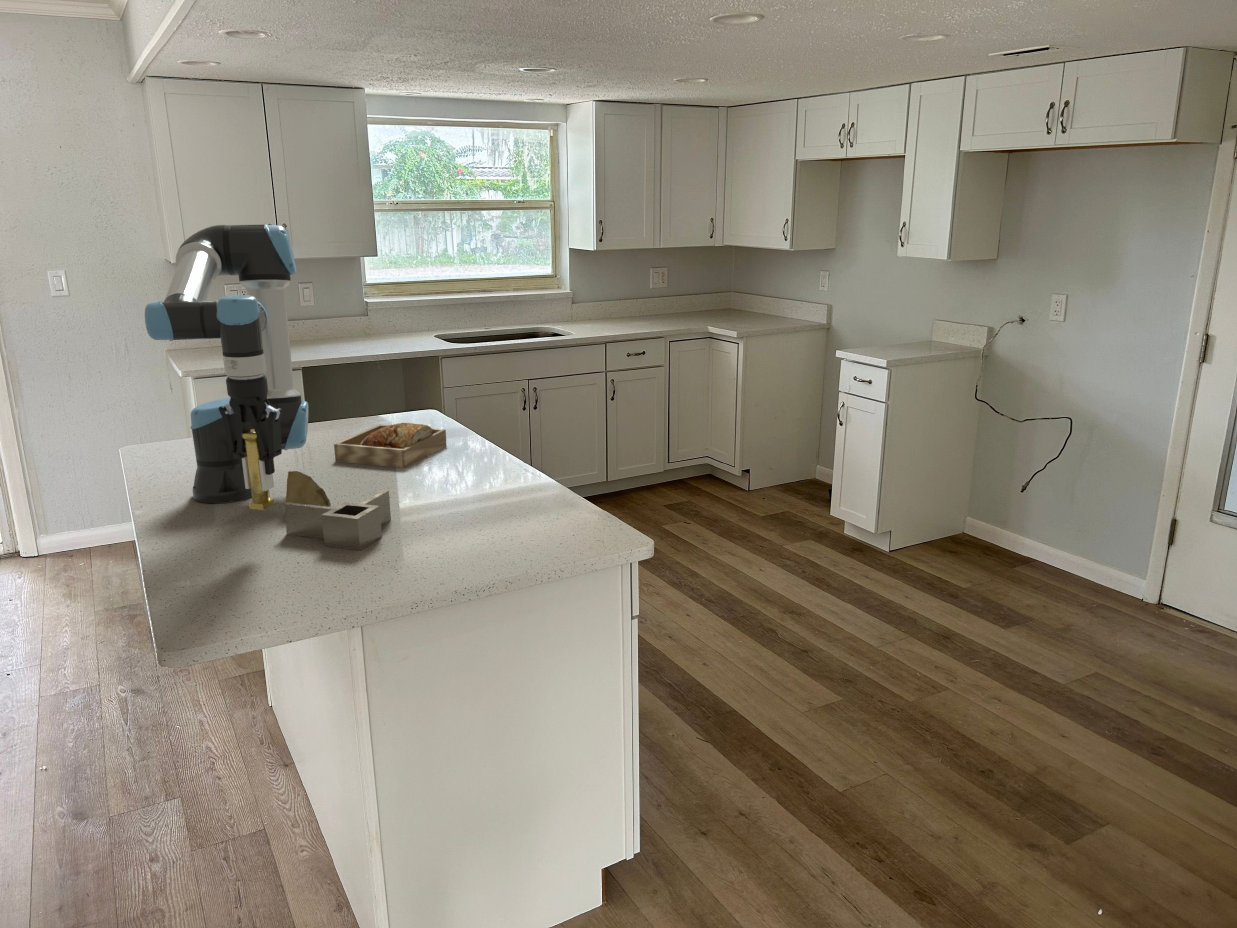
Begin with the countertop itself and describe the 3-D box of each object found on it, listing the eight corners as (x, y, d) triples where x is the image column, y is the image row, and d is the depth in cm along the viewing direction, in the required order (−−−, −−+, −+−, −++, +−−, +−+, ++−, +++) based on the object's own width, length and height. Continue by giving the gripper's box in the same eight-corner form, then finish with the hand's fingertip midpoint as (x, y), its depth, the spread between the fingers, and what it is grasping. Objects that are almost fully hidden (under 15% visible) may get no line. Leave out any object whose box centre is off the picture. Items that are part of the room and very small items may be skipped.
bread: (402, 468, 243) (400, 432, 240) (348, 460, 249) (345, 426, 247) (444, 449, 261) (442, 416, 258) (392, 443, 268) (390, 411, 265)
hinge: (276, 540, 190) (272, 509, 188) (326, 512, 207) (324, 483, 205) (360, 550, 185) (357, 518, 183) (405, 521, 202) (403, 491, 200)
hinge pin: (246, 508, 182) (236, 433, 177) (260, 502, 186) (251, 428, 181) (264, 511, 181) (254, 435, 176) (277, 504, 185) (268, 430, 180)
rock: (332, 491, 215) (289, 489, 212) (332, 470, 208) (287, 467, 206) (328, 529, 208) (283, 527, 206) (328, 508, 202) (282, 506, 199)
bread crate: (335, 461, 248) (333, 444, 247) (381, 440, 270) (379, 424, 269) (405, 467, 242) (404, 450, 241) (446, 445, 264) (445, 429, 263)
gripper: (197, 376, 174) (213, 489, 181) (269, 382, 169) (282, 497, 177) (224, 369, 181) (238, 478, 188) (293, 374, 176) (305, 486, 183)
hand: (259, 487), depth 182 cm, fingers closed on hinge pin, 3 cm apart
